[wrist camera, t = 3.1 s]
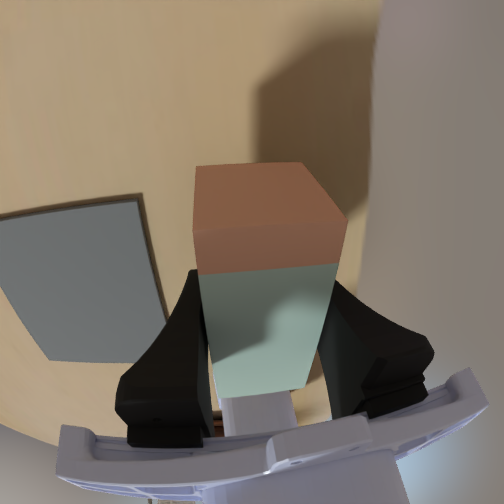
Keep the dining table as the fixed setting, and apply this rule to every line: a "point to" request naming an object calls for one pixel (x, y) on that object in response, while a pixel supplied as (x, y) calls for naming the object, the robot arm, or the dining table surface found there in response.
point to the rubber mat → (83, 281)
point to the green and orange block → (264, 271)
